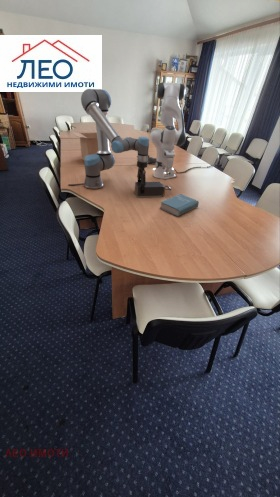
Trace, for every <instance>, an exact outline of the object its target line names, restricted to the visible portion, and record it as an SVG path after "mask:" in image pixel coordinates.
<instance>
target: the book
mask: <svg viewBox="0 0 280 497" xmlns="http://www.w3.org/2000/svg"><path fill="white" fill-rule="evenodd" d="M160 203H161V204H160V208H159V209H161V210H163V211H165V212H167V213H169V214H171V215H173V216H176V217H180V216H181V215H184V214H186V213H188V212H190V211H192V210H194V209H196V208H198V207H199V204H200V203H199V200H196V199H194V198H192V197H189V196H187V195H184V194H182V193H180V194H177V195H175V196H172V197H169V198H166V199H164V200H161V201H160Z"/></svg>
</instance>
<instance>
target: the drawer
mask: <svg viewBox="0 0 280 497" xmlns="http://www.w3.org/2000/svg"><path fill="white" fill-rule="evenodd" d="M161 184H162V185H163V186H164V190H163V196H165V195H166V191H172V188H171V187H170V185H168V184H167V185H165V184H163V182H161Z"/></svg>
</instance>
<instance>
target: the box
mask: <svg viewBox="0 0 280 497" xmlns="http://www.w3.org/2000/svg"><path fill="white" fill-rule="evenodd" d="M70 133H71V134H72V135H74V136H75V137H77V138H79V144H80V153H81V160H83V161H84V159H85V157H86V156H87V155H90V154H97V151H98V141H97V131H95V130H92V129H91V130H77V132H76V131H70Z"/></svg>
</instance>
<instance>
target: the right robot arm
mask: <svg viewBox="0 0 280 497" xmlns="http://www.w3.org/2000/svg"><path fill="white" fill-rule="evenodd" d="M155 92H156V97H157V98H158V99H160V100H162V104H161V109H160V120H159V122H160V124H162V126H164V129H154V130H152V131H151V132H150V135H149V141H150V142H151V143H152V144H153V145H154V147H155V150H156V158H157V159H156V164H154V168H152V170H153V175H152V176H153V177H154V178H156V179H162V180H169V179H173V178H177V175H176V174H184V173H187V172H188V171H190V170H192V169H197V168H200V166H193V167H191V168H188V169H187V170H185V171H181V172H179V171H177V170H176V169H175V168H174V167H173V165H174V161H175V160H174V158H175V157H176V153H175V146H177V147H182V146H183V145H185V143H186V142H187V141H186V139H187V136H186V135H187V134H186V129H185V128H186V127H185V118H184V111H183V108H181V107H180V104H179V102H180V101H183V99H184V97H185V95H186V87H185V84H182V83H179V82H159V83H158V84H157V87H156V89H155ZM175 120H176V121H177V126H178V127H177V129H178V130H177V129H176V126H175ZM213 166H214V165H213V164H210V165H209V166H208V168H211V167H213ZM175 173H176V174H175Z"/></svg>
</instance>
